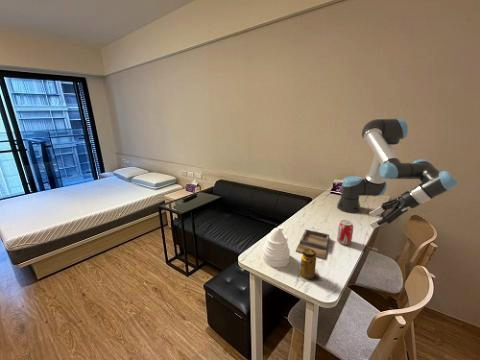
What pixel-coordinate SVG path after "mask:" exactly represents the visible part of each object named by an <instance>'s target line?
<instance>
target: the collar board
mask: <svg viewBox="0 0 480 360" xmlns="http://www.w3.org/2000/svg"><path fill="white" fill-rule="evenodd" d="M330 241H331V237H330V233H329V234H328V233H325V232H319V231H315V230H310V229H305V230H304V232H303V234H302V236H301V238H300V239H299V243H298V245H297V246H296V249H295V252H296V253H299V254H301V255H303V250H304V249H312V250H314V251H315V253H316V259H317V258H318V259H321V260H325V258H326V255H327V251H328V248H329V244H330Z"/></svg>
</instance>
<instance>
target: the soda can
mask: <svg viewBox="0 0 480 360" xmlns="http://www.w3.org/2000/svg"><path fill="white" fill-rule="evenodd" d="M353 233H354V225H353V222H352V221H351V220H347V219H343V220H340V222H339V224H338V228H337V237H336V238H337V242H338V243H339V244H340V245H343V246H344V245H345V246H348V245H351V244H352V240H353Z"/></svg>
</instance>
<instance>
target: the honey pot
mask: <svg viewBox="0 0 480 360" xmlns="http://www.w3.org/2000/svg"><path fill="white" fill-rule="evenodd" d="M283 230H284V226H282V225H279V226H277V227H274V228H273V229H272V230H271V231H270V233H268V234H267V235H266V240H265V241H264V245H263V247H262V260H263V262H264V263H265V264H266V265H267V266H268V267H271V268H275V269H276V268H279V269H280V268H283V267H286V266H287V265H288V264H289V263H290V252H291V251H290V247H289V245H288V241H289V238H288V236H287V235H286V234H285V233H283Z"/></svg>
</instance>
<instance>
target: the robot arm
mask: <svg viewBox="0 0 480 360" xmlns="http://www.w3.org/2000/svg"><path fill="white" fill-rule="evenodd" d="M408 132H409V125H408V123H407V121H406V120H405V119H403V118H381V119H380V118H376V119H371V120H369V121H368V122H367V123H365V124H364V125H363V128H362V131H361V138H362V139H363V141H364V142H365V143H367V144H368V145H369V147H370V149H371V150H372V152H373V154H374V157H373V160H372V163H371V166H370V170H369V172H368V174H366V175H365V178H362V177H360V176H356V175H354V176H351V175H350V176H346V177H344V178H343V180H342V184H341V194H340V195H341V196H340V198H339V200H338V201H337V203H336V204H337V206H336V208H337V209H338V210H339V209H340V210H339V211H341V210H342V211H341V212H344V211H345V212H346V213H349V212H357V213H359V212H361V203H360V197H361V196H362V197H364V196H365V197H366V196H368V197H369V196H370V197H380V196H383V195H384V194H385V193H386V191H387V186H388V184H387V181H386V180H387V179H389V180H419V181H420V182H421V183H420V184H417V185H414V186H413V187H412V188H410V189H409V191H408V190H406V191H404V193H402V194H400V196H398V197H396V198H393V199H391V200H387V201H385V202H382V203H381V206H379V207H377V208H375V209H374V210H372V211H370V212H369V215H370V217H372V218H374V217H376V216H378V215H380V214H382V213H383V212H386V211H387V210H390V211H389V212H388V213H387V214H385V216H381V217H379V218H378V219H376V220H374V221H372V222H371V223H369V226H370V227H371V228H372V229H373V230H374V229H376V228H378V227H380V226H382V225H385V224H386V223H387V224H388V225H389V224H391V223H393V222H394V221H396V219H398V218H399V217H401V216H402V215H403V214H405V213H407V212H408V211H409V210H408V209H407V208H408V207H409V208H411V209H414V208H417V207H418V206H420V204H424V203H426V202H430V200H431V199H434V198H436V197H437V196H439V195H440V196H441V194H444V193H446V192H448V191H451V190H452V189H453V188H455V187H457V186H458V185H459V182H458V180H457V179H456V178H455V177H454V176H453V175H452V174H451V173H450V172H449V171H448V170H443V171H439V170H438V169H437V168H436V167H435V166H434V165H433V164H432V163H431V162H429V161H428V160H427V159H425V158H419V159H416V160H414V161H413V162H401V160H400V159H399V158H398V156H397V155H396V153H395V152H394V149H395V146H397V145H398V144H399V143H400V141H401V140H404V139H405V138H406V137H407V136H408ZM358 211H359V212H358Z"/></svg>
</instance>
